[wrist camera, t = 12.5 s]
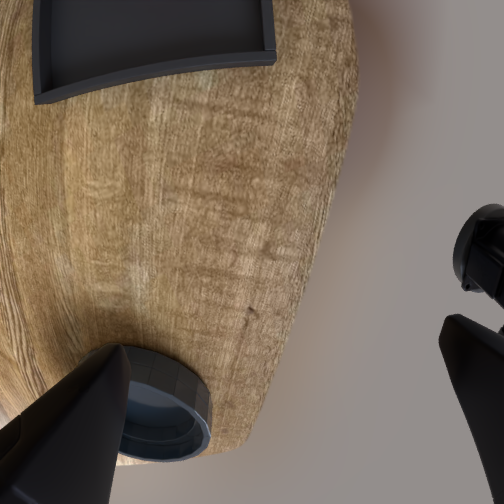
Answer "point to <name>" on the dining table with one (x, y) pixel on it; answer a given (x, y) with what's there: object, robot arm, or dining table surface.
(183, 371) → the bowl
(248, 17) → the tray
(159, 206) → the dining table surface
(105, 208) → the dining table surface
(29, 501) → the robot arm
